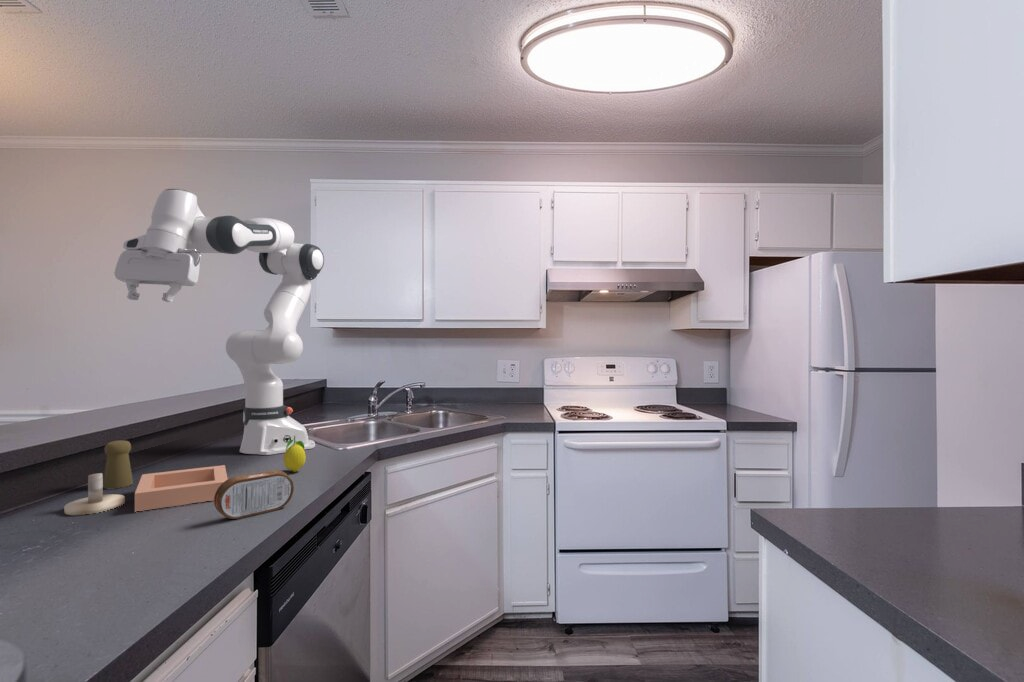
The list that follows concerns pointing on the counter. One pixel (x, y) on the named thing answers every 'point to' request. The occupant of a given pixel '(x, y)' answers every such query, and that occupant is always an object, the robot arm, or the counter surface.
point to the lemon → (294, 455)
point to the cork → (117, 465)
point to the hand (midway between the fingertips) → (149, 300)
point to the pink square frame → (178, 487)
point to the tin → (253, 494)
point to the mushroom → (94, 499)
